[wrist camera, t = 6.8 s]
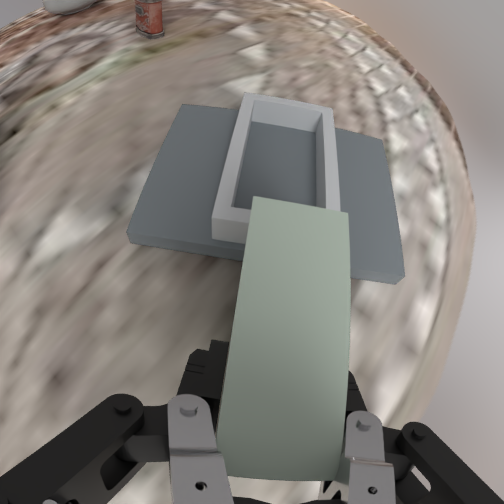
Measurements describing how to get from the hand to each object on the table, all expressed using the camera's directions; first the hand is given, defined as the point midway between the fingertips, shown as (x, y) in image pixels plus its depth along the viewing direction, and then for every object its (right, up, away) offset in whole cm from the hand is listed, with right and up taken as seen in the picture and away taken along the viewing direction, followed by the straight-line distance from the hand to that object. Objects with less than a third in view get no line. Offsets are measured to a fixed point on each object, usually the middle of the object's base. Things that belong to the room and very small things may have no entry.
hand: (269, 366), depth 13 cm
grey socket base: (+1, +10, +13) cm, 17 cm away
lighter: (-18, +41, +28) cm, 52 cm away
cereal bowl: (-44, +65, +38) cm, 88 cm away
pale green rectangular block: (-1, -3, +6) cm, 7 cm away
